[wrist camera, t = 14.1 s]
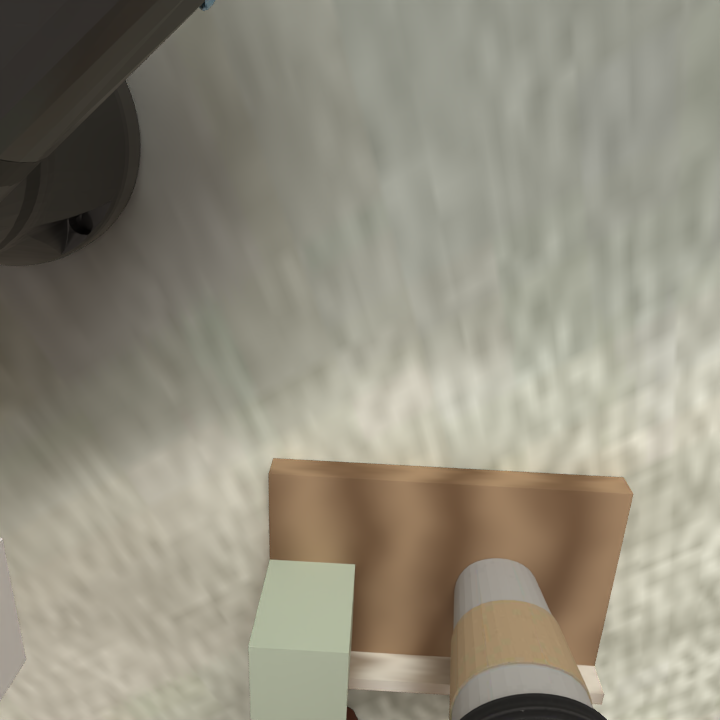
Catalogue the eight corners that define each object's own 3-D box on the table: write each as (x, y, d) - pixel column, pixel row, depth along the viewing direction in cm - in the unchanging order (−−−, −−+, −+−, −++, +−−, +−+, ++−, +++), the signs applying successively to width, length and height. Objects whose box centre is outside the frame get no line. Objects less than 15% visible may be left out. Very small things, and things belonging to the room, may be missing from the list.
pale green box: (270, 627, 51) (250, 721, 43) (269, 559, 48) (248, 646, 41) (352, 632, 51) (345, 727, 43) (355, 564, 48) (348, 653, 41)
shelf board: (275, 638, 54) (265, 685, 50) (273, 458, 48) (262, 495, 43) (584, 657, 53) (601, 706, 49) (623, 477, 47) (646, 516, 43)
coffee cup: (452, 653, 51) (475, 869, 37) (410, 555, 48) (418, 752, 34) (577, 622, 49) (651, 835, 36) (543, 518, 46) (609, 708, 32)
